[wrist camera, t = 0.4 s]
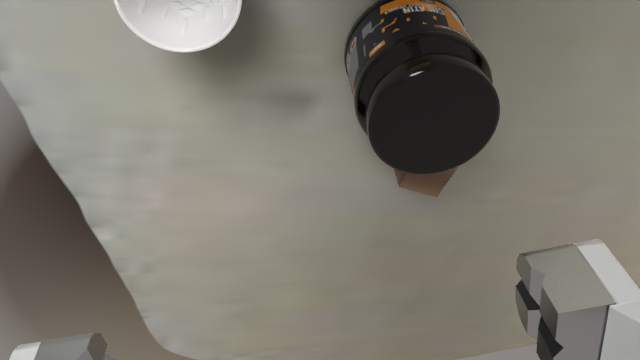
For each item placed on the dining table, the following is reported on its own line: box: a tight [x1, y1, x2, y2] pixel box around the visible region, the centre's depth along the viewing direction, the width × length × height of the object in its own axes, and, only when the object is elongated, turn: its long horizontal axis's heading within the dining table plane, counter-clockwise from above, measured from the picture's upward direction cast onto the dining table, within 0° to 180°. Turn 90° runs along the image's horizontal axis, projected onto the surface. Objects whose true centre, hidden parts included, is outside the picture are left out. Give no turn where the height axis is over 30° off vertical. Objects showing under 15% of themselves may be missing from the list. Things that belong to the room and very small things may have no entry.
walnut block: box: [394, 166, 458, 197], centre depth 56 cm, size 4×4×6 cm
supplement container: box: [344, 0, 500, 175], centre depth 47 cm, size 10×10×12 cm
